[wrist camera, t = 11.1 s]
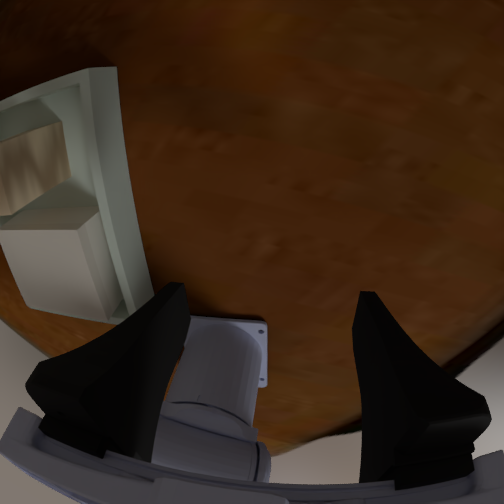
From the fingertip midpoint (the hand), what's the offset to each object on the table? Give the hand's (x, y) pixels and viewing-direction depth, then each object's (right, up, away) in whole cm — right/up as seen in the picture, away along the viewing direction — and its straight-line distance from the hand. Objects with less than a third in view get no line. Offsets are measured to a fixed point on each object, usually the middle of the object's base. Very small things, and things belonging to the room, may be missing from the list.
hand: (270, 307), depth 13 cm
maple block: (-17, +10, +8) cm, 21 cm away
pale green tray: (-17, +7, +11) cm, 21 cm away
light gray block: (-17, +2, +12) cm, 21 cm away
